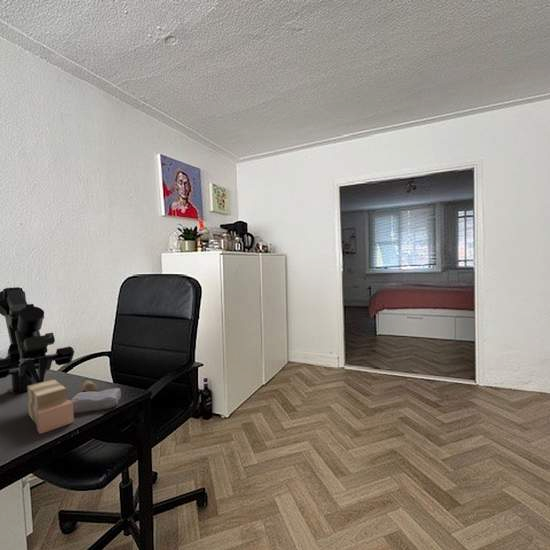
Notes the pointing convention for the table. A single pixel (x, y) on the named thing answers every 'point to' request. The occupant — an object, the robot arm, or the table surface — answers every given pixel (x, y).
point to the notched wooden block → (44, 395)
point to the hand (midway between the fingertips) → (40, 386)
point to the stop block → (54, 416)
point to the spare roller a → (89, 386)
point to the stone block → (96, 400)
